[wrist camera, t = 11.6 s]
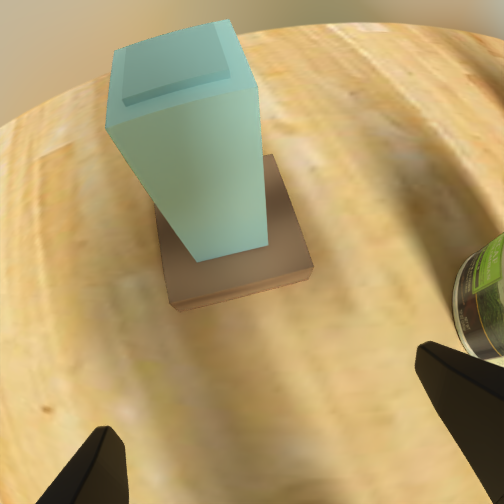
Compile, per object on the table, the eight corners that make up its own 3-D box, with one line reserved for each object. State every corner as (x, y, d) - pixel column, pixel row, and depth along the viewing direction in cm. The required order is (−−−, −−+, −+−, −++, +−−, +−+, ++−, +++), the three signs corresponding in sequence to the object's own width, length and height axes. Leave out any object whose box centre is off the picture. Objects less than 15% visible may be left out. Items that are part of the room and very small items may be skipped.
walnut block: (307, 281, 22) (313, 266, 20) (181, 313, 22) (169, 303, 19) (271, 177, 26) (272, 153, 23) (162, 204, 25) (151, 183, 22)
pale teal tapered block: (268, 245, 20) (257, 77, 8) (196, 262, 20) (100, 121, 8) (251, 184, 21) (228, 11, 9) (186, 200, 21) (111, 44, 9)
